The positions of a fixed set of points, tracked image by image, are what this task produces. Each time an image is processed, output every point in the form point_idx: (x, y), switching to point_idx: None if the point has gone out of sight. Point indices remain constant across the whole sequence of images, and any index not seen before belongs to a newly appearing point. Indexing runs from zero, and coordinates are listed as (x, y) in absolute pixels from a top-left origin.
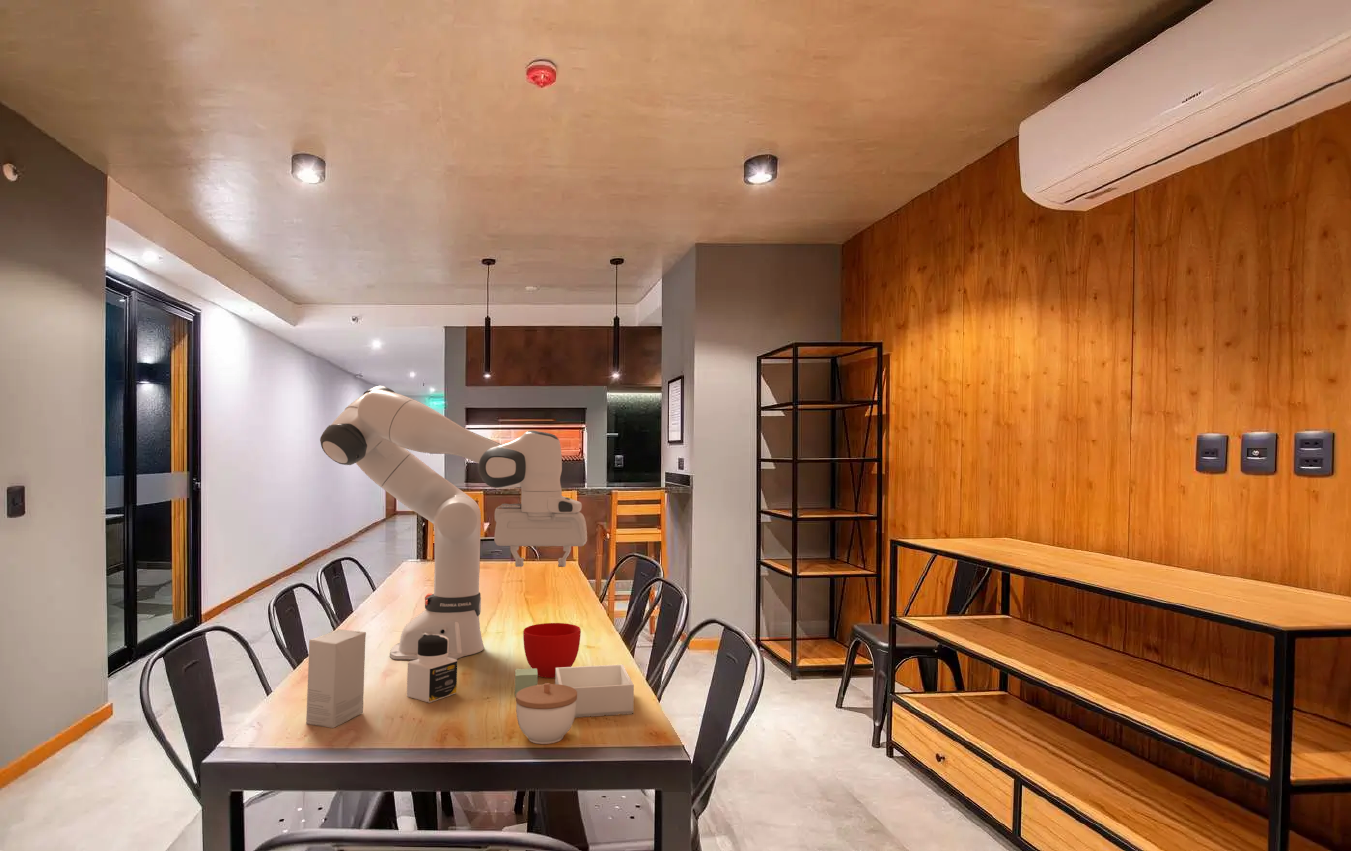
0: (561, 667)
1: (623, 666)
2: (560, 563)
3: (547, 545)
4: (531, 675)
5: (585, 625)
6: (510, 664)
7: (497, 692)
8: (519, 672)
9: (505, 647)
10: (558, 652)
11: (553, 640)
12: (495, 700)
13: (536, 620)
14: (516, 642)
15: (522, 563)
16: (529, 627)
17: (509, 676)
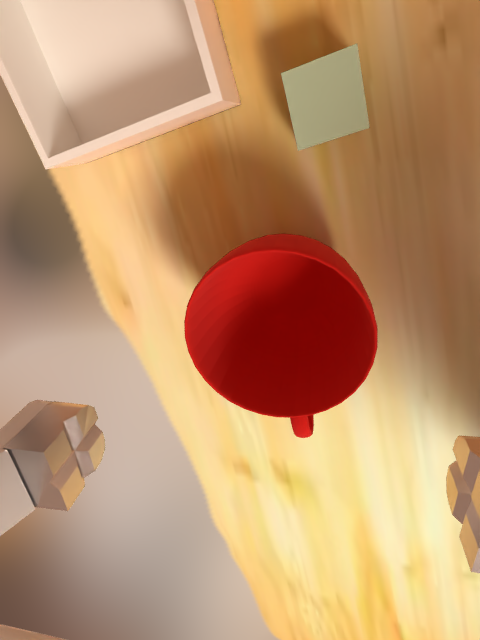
0: (204, 106)
1: (36, 145)
2: (50, 416)
3: (12, 636)
4: (301, 65)
5: (283, 587)
6: (410, 355)
7: (416, 98)
8: (348, 88)
9: (441, 478)
10: (244, 243)
11: (251, 246)
12: (412, 8)
13: (392, 628)
14: (417, 508)
15: (463, 474)
16: (362, 374)
17: (399, 256)
